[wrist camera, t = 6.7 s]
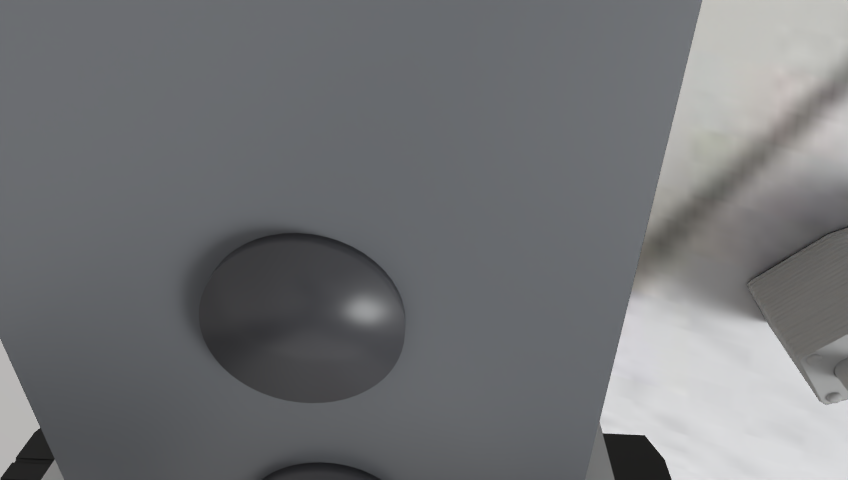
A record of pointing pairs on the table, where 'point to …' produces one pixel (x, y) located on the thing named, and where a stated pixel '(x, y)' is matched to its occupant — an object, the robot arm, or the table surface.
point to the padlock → (811, 312)
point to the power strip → (327, 229)
